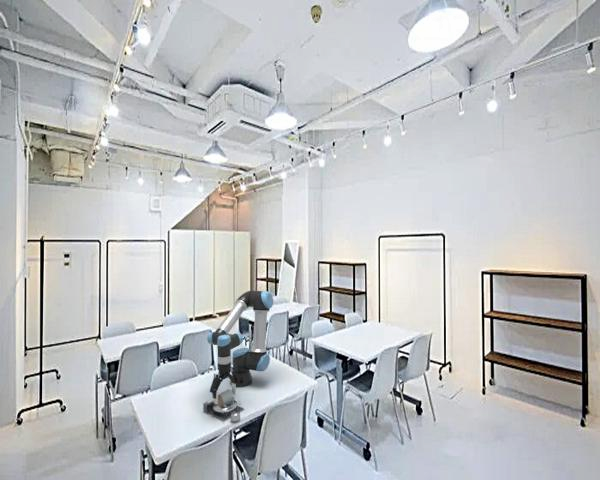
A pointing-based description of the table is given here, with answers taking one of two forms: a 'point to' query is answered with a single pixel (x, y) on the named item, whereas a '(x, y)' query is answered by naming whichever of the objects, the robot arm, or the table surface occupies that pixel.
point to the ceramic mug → (226, 399)
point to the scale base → (219, 415)
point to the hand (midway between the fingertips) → (225, 398)
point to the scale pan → (223, 409)
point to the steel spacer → (235, 416)
